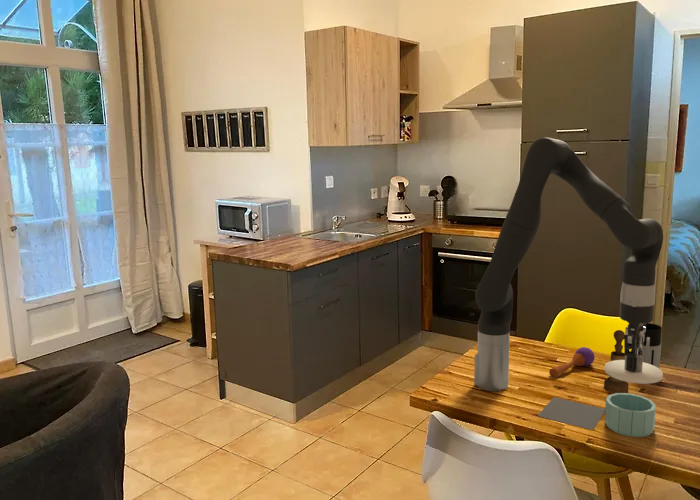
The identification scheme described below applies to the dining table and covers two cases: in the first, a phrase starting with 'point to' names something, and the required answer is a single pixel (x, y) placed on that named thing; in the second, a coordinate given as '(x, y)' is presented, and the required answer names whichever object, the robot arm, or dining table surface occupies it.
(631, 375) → the lid
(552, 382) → the dining table surface
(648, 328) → the glass holder
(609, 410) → the cup
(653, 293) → the robot arm
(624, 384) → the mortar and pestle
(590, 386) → the dining table surface
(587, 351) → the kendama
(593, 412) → the mat
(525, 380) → the dining table surface
